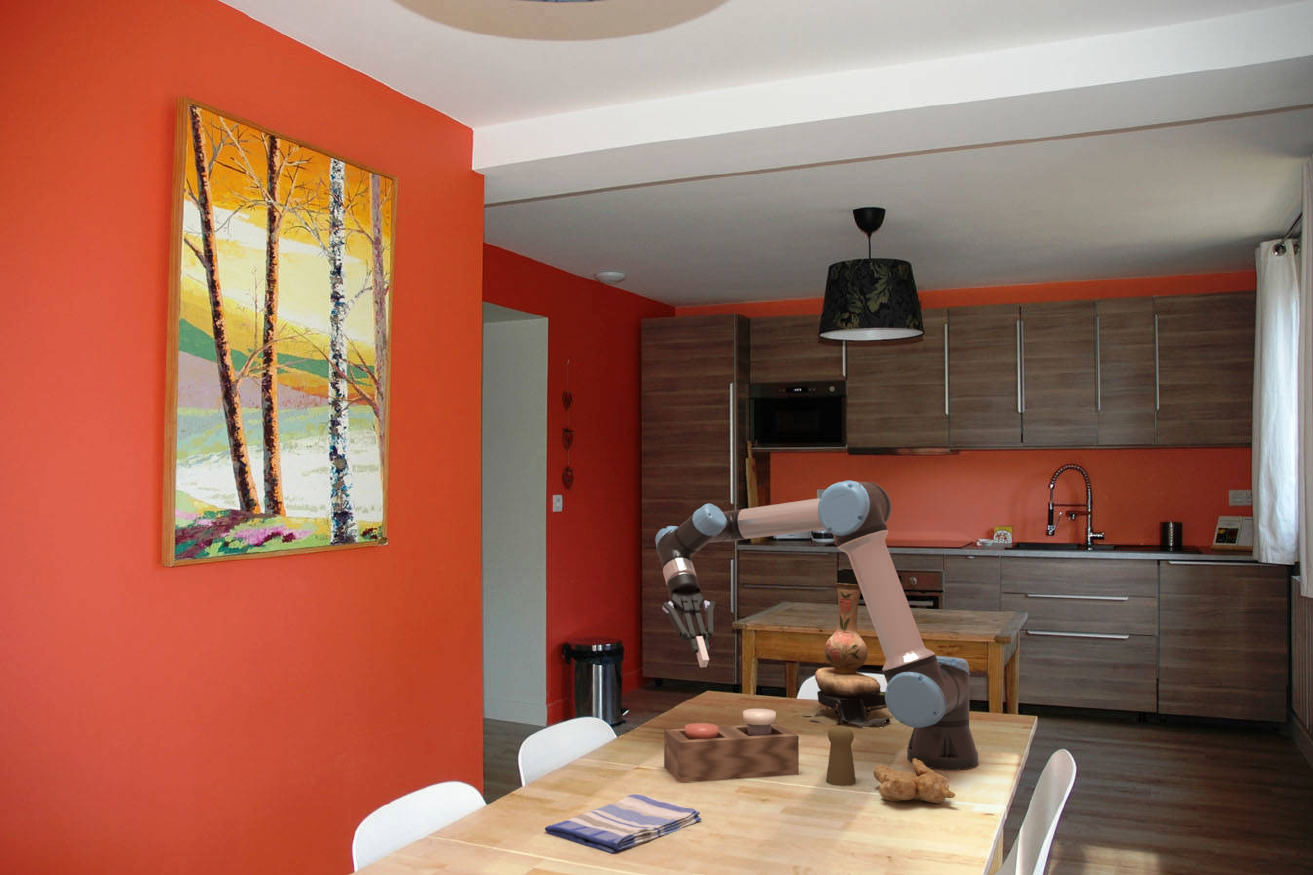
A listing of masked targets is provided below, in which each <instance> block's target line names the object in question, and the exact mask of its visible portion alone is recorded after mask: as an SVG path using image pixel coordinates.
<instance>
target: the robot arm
mask: <svg viewBox="0 0 1313 875" xmlns="http://www.w3.org/2000/svg"><path fill="white" fill-rule="evenodd" d="M892 506H893V505H892V500H891V497H890V495H889V494H888V492H887V491H886V490H885V489H884V488H883V487H882V486H880V485H879V484H877V483H875V482H870V481H853V480H850V479H849V480H844V481H838V482H836V483H833V484H831V485H830V486H828V487H827V488H826V489H825V490H824V491H823V492H822V494H821V496H820V497H817V498H812V499H805V500H804V499H803V500H799V501H797V500H796V501H791V502H783V503H779V504H778V503H777V504H776V503H775V504H769V505H763V506H756V507H749V508H743V509H735V510H728V511H722V510H721V509H720V508H719V507H718V506H717V505H714V504H712V503H706V504H703V506H701V507H700V508H698V509H696V510H695V511H694V512H693V514H691V515H690V516H689V517H688V518H687V519H686V520H685V521H684V522H683V523H682V524H680V525H679V526H676V525H668V526H666V527H665V528H661V529H660V530H659V531H658V532H657V533H656V536H655V540H654V541H655V545H656V553H657V555H658V559H659V561H660V564H661V567H662V568H661V569H662V574H663V577H664V580H665V585H666V589H667V592H668V596H669V601H666V602H664V603H663V605H662V608H661V612H662V613H663V614H664V615H665V616H666V617H667V618H668V620H669V622H670V624H671V625H672V627H673V628H674V631H675V632H676V635H677V636H678V637H679V639H680V641H682V642H684V641H686V642H687V645H689V646H690V650H691V652H692V653H693V654H696V657H697V661H698V664H699V668H707V667H708V664H709V661H710V657H709V654H708V653H709V650H710V644H709V641H711V639H712V636H713V633H714V608H715V605H716V602H715V601H714V600H711V601H708V600H706V598H705V596H704V595H702V591H701V586H700V584H699V581H698V577H697V573H696V570H695V567H694V564H693V560H692V556H694V555H695V554H696V553H698V552H699V551H700V550H701V549H703V548H704V547H705V546H706V545H707V544H709V543H710V544H711V543H722V542H725V543H726V542H729V543H730V542H738V541H741V540H742V541H743V540H748V539H749V540H750V539H756V538H757V539H758V538H764V537H773V536H781V535H789V534H799V533H806V532H814V531H823V530H826V531H827V532H828V533H830V534H832V535H833V538H834V541H835V544H836V547H837V549H838V550H839V551H841V552H843V553H845V554H846V555H847V557H848V559H849V562H850V565H851V568H852V570H853V573H854V576H855V578H856V581H857V583H858V584H857V585H859V587H860V590H861V591H860V593H861V595H862V597H863V600H864V602H865V605H866V609H867V612H868V614H869V617H870V619H871V623H872V625H873V628H874V630H875V632H876V635H877V638H878V641H879V644H880V647H881V650H882V653H883V655H884V658H885V662H884V664H883V667H882V673H883V676H884V678H885V681H886V688H885V691H884V692H885V701H886V705H887V709H888V712H889V713H890V715H891V716H892V717H893V718H894V719H895V720H896V721H897V722H899V723H901V724H902V725H903V726H906V727H909V728H913V729H912V733H911V736H910V739H909V742H908V745H907V749H906V752H907V753H906V756H907V758H906V759H907V761H909V762H910V763H911V764H913V761H912V760H913V758H915V759H916V758H917V760H920V761H923V763H924V765H925V766H926V767H928V768H929V769H937V770H948V771H949V770H950V771H951V770H953V771H956V770H957V769H959V770H968V769H973V768H975V767H977V766H978V765H979V754H978V750H977V747H976V744H975V740H974V738H973V734H972V730H971V727H970V676H971V672H970V670H969V669H970V668H969V667H970V666H969V663H968V661H967V660H966V659H964V658H961V657H954V656H953V657H952V656H944V655H943V656H942V655H936V654H935V652H934V651H932V650H930V649H929V648H927V647H925V644H924V642H923V640H922V637H921V634H920V631H919V628H918V626H917V624H916V620H915V618H914V615H913V612H912V609H911V607H910V605H909V602H908V598H907V597H906V594H905V591H904V589H903V585H902V583H901V581H900V578H899V575H898V573H897V570H896V567H895V565H894V562H893V560H892V557H891V553H890V551H889V549H888V547H887V543H886V539H887V537H888V534H889V528H888V526H887V523H888V521H889V519H890V517H891V515H892V512H893V508H892ZM702 608H703V609H704V612H705V625H704V621H703V618H702V614H701V610H702ZM678 613H679V614H680V616H679V614H678ZM694 627H695V628H694ZM955 769H956V770H955Z"/></svg>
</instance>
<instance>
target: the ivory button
mask: <svg viewBox="0 0 1313 875" xmlns="http://www.w3.org/2000/svg"><path fill="white" fill-rule="evenodd" d="M742 723H745V724H746V725H748V736H762V735H771V724H774V723H777V712H776V711H775V710H772V709H767V708H747V709H744V710H743V711H742Z"/></svg>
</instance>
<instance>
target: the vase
mask: <svg viewBox="0 0 1313 875" xmlns="http://www.w3.org/2000/svg"><path fill="white" fill-rule="evenodd" d="M835 585H836V592H837V606H838V610H837V611H838V616H837V617H838V618H837V619H838V620H837V627H836V630H835V632H834V633H833V634H832V635H831V636H830V637H829V638H828V639H827V641H826V643H825V646H824V656H825V659H826V661H827V662H828V664H830V665H831V666H832V667H830V666H829V667H821V668H818V669H817V670H816V671H815V674H814V678H815V682H816V685H817V687H818V691H817V695H816V696H817V702H818V703H819V704H820V706H819V707H818V709H817V713H816V714H815V715H814V717H816V716H817V717H818V716H819V714H820V711H822V710H824V711H825V710H827V709H828V710H834V713H835V716H836V719H837V720H838V721H837V722H838V723H836V724H838V725H840V724H841V723H843V724H844V723H845V724H853V725H856V726H857V727H860V729H864V728H863V727H869V728H870V726H872V725H874V726H876V727H877V728H879V727H883V728H884V724H885V723H888V722H890V723H891V720H890V718H887V717H882V718H872V719H871V718H868V717H869V714H870V713H873V712H874V711H880V710H884V709H888V707H887V705H886V701H885V691H881V683H879V682H878V680H877V679H876V678H875V677H874V676H869V675H866V674H863V673H861V672H858V671H857V670H858V669H860V668H861V667H862V666H863V665H864V664H865V663H866V662H867V658H868V653H869V652H868V651H869V650H868V647H867V645H866V643H865V641H864V639H862V637H861V636H860V635H859V633H858V629H857V624H858V623H857V621H858V620H857V619H858V610H859V602H860V597H861V590H860V587H859V584H855V583H854V584H853V583H852V584H851V583H840V582H839V583H838V582H836V583H835ZM836 707H837V711H836V710H835V709H836ZM866 712H869V713H868V714H867V713H866ZM802 717H804V718H809V717H811V718H812V716H811V715H802ZM885 721H886V722H885ZM809 722H818V723H820V721H818V720H815V719H810V720H809Z"/></svg>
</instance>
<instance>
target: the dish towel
mask: <svg viewBox="0 0 1313 875" xmlns="http://www.w3.org/2000/svg"><path fill="white" fill-rule="evenodd" d="M700 814H701V812H700V810H697V809H696V808H693V807H687V806H682V805H680V804H676V803H673V802H670V801H663V800H662V801H661V800H660V799H656V798H653V797H651V796H649V795H645V794H640V793H633V794H629V795H628V796H626V797H624V798H622V799H620V800H617V801H616V802H613V803H610V804H607V805H604V806H602V807H601V806H600V807H598V808H595V809H594V810H591V811H588V812H585V813H581V814H579V815H576V816H573V817H572V818H570V819H566V820H563V821H559V822H556V823H552V824H550V825H546V826H545V827H544V830H545V832H546V833H548V834H550V835H553V836H556V837H558V838H562V839H565V840H567V841H571V842H573V843H576V844H579V845H582V846H585V847H590V848H593V849H596V850H599V851H602V852H605V853H608V854H611V855H613V854H615V853H618V852H622V851H625V850H627V849H630V848H632V847H636V846H640V845H643V844H645V843H648V842H649V841H651V840H654V839H656V838H659V836H660V837H662V836H666V835H669V834H673V833H675V832H677V831H679V829H680V830H681V829H682V828H683V829H684V828H686V827H688V826H691V825H693V824H696V823H698V822H700V821H702V820H703V819H702V817H701V816H699V815H700Z"/></svg>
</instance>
